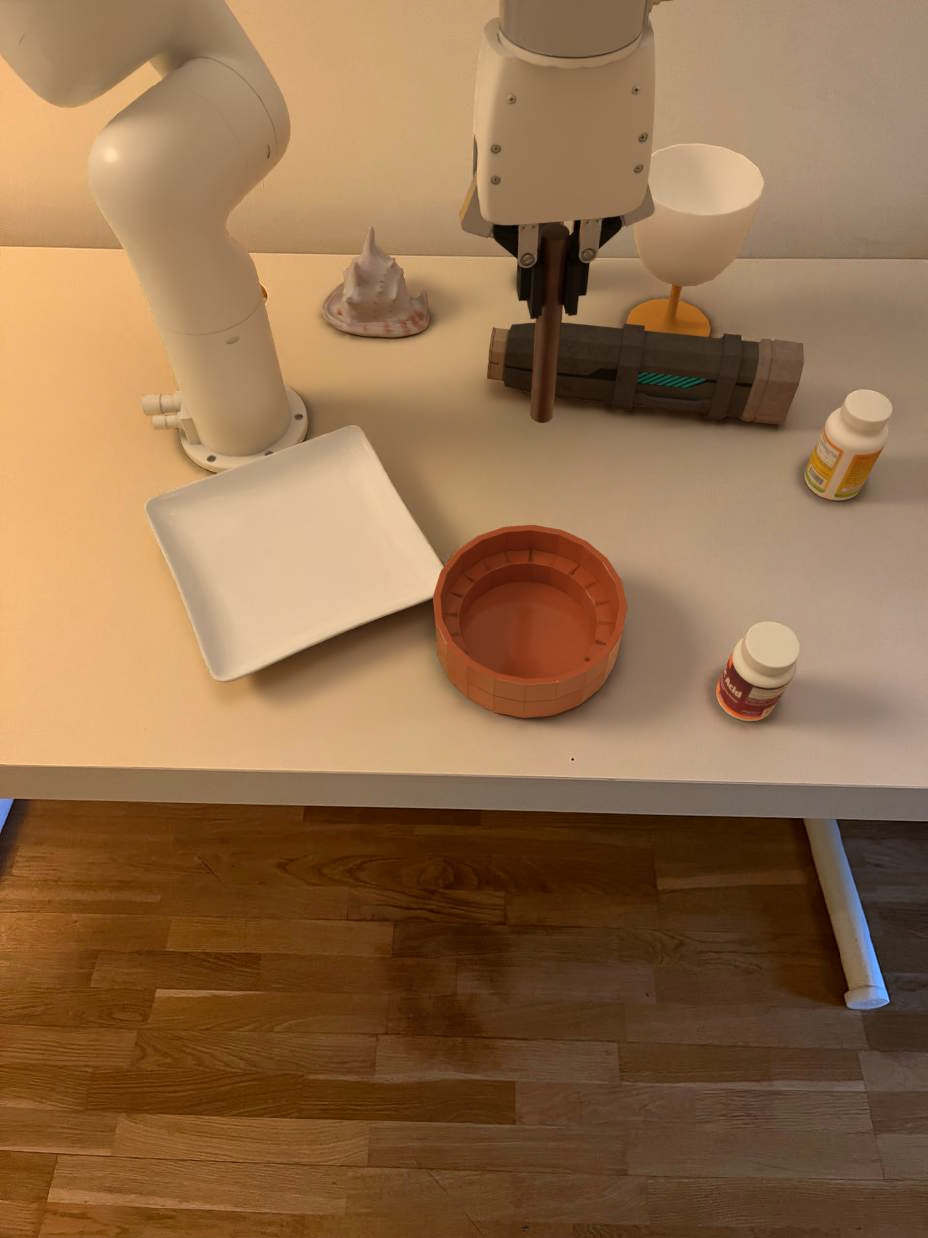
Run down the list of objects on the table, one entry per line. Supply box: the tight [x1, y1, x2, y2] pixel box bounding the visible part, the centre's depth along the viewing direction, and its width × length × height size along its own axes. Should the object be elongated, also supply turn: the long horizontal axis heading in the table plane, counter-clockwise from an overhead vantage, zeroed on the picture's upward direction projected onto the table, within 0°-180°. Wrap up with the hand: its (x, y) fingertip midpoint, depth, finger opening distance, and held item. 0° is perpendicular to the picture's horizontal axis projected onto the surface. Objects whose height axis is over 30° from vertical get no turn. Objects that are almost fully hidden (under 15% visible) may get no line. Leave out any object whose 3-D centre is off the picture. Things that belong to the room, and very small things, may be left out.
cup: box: [625, 142, 766, 337], centre depth 91 cm, size 12×12×17 cm
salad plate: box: [143, 424, 445, 684], centre depth 79 cm, size 21×21×3 cm
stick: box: [529, 223, 571, 424], centre depth 64 cm, size 2×2×16 cm
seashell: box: [321, 225, 431, 338], centre depth 96 cm, size 10×12×9 cm
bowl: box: [432, 524, 628, 719], centre depth 74 cm, size 15×15×6 cm
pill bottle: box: [715, 620, 801, 722], centre depth 70 cm, size 5×5×8 cm
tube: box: [486, 321, 805, 426], centre depth 89 cm, size 11×7×30 cm
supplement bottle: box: [804, 388, 894, 501], centre depth 82 cm, size 5×5×10 cm
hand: (550, 302), depth 62 cm, fingers closed on stick, 1 cm apart
